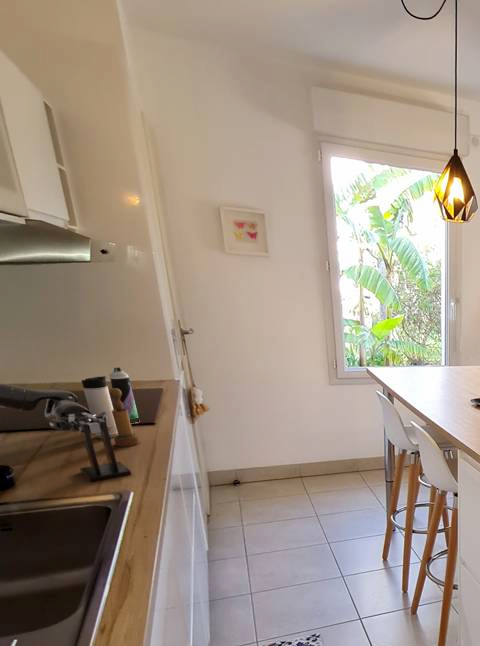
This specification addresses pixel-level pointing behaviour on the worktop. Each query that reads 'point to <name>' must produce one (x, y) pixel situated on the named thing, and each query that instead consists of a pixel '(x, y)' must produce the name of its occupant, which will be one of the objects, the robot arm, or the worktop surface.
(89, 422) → the tap lever
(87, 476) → the bracket
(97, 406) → the travel mug
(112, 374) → the spray can
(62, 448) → the worktop surface
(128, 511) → the worktop surface
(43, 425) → the worktop surface
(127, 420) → the wooden pepper mill
